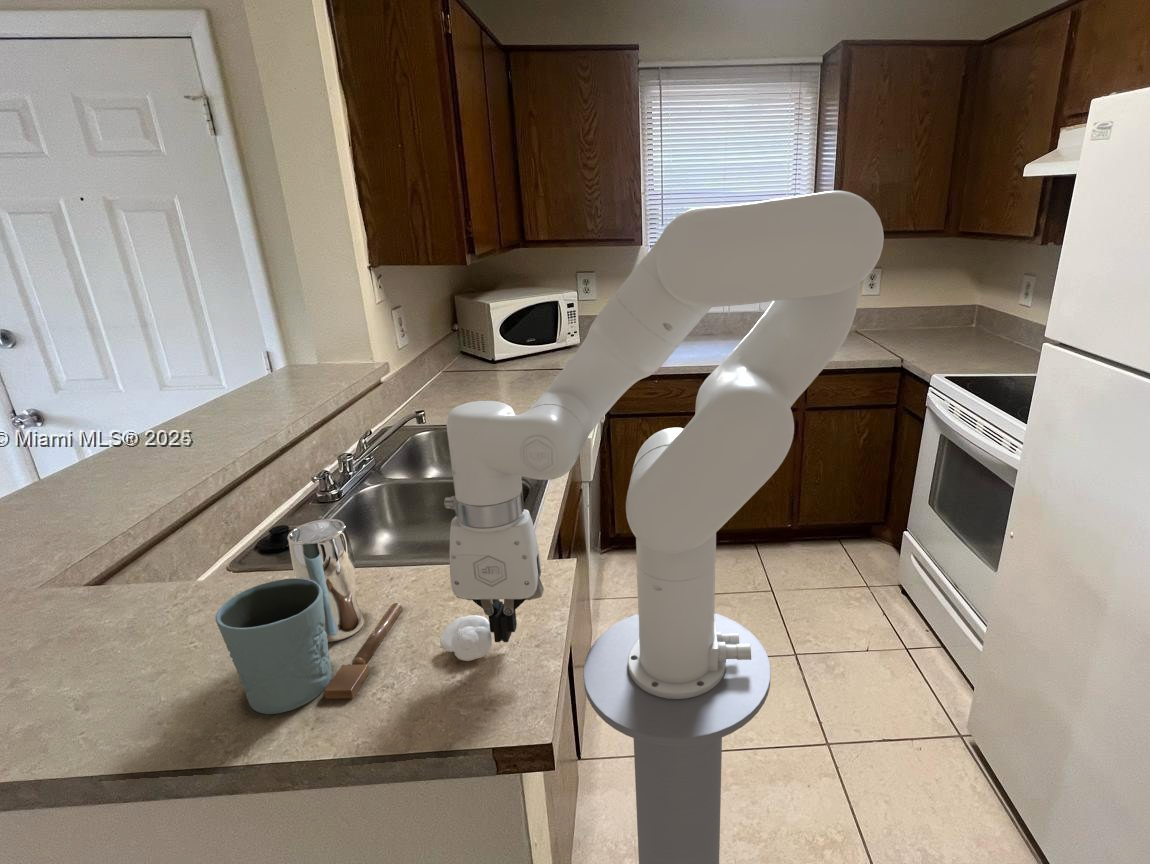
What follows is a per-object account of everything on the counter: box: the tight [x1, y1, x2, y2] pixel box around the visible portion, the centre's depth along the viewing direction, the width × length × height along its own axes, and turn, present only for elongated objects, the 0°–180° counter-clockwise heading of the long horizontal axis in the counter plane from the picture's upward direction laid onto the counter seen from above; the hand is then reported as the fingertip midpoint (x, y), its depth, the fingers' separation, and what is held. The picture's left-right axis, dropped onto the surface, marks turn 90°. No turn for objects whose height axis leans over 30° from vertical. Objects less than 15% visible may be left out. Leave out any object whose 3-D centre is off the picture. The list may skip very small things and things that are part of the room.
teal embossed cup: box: [215, 577, 332, 715], centre depth 71 cm, size 10×10×12 cm
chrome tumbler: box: [287, 518, 365, 643], centre depth 81 cm, size 7×7×15 cm
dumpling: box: [439, 614, 493, 662], centre depth 78 cm, size 7×5×4 cm
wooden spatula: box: [323, 602, 403, 700], centre depth 79 cm, size 17×3×2 cm, turn 1°
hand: (504, 635), depth 78 cm, fingers closed
